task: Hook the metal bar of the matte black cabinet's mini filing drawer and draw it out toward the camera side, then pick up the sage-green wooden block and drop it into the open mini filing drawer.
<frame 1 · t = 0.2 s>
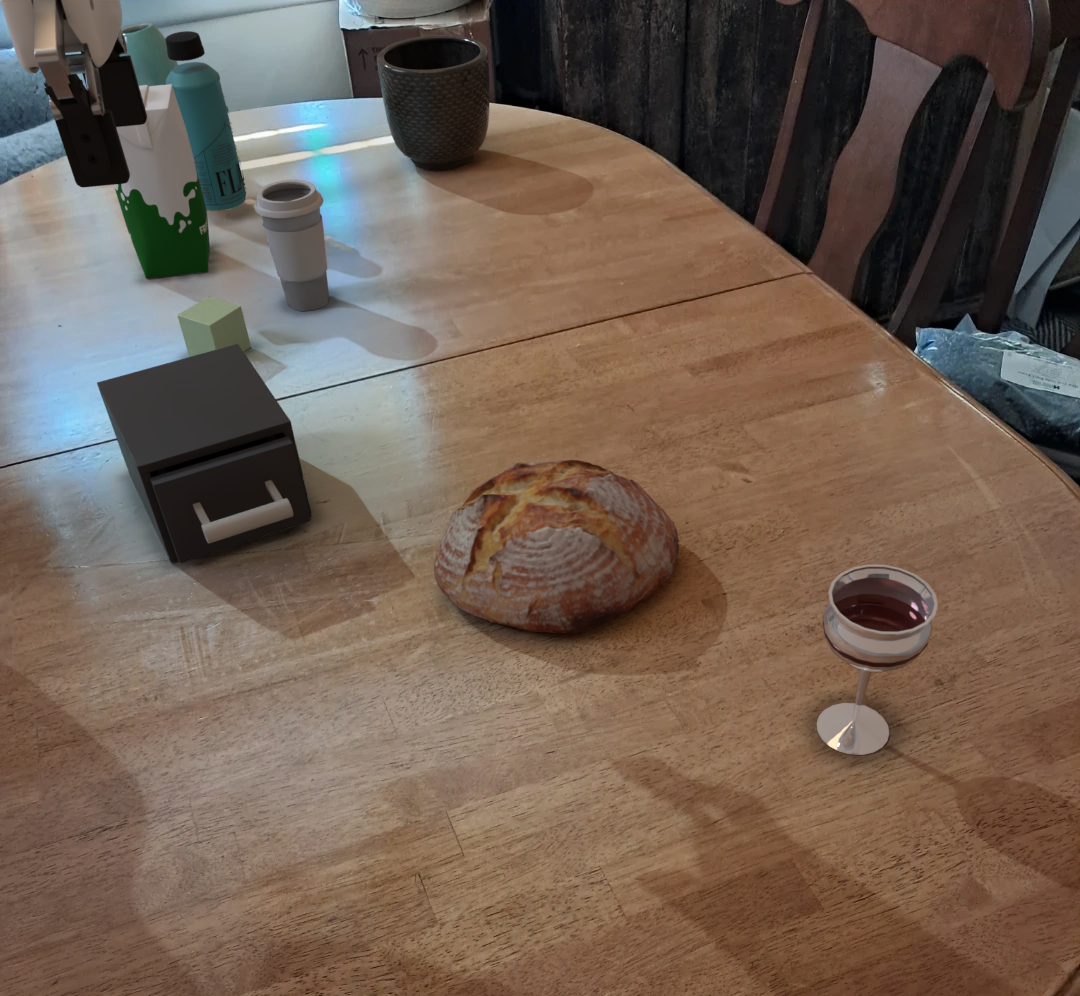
hand: (114, 152, 73), 33 cm above the table, tool pointing down, fingers open, 9 cm apart
block: (220, 351, 121), on the table
planter: (442, 161, 153), on the table
cup: (308, 302, 128), on the table
milk carton: (179, 264, 136), on the table
wineglass: (852, 730, 81), on the table
vase: (174, 178, 153), on the table
bread: (557, 575, 94), on the table
beverage bottle: (225, 213, 145), on the table
mini filing drawer: (220, 477, 97), point 5 cm above the table, slide at 0.5 cm
cabinet: (219, 496, 103), on the table
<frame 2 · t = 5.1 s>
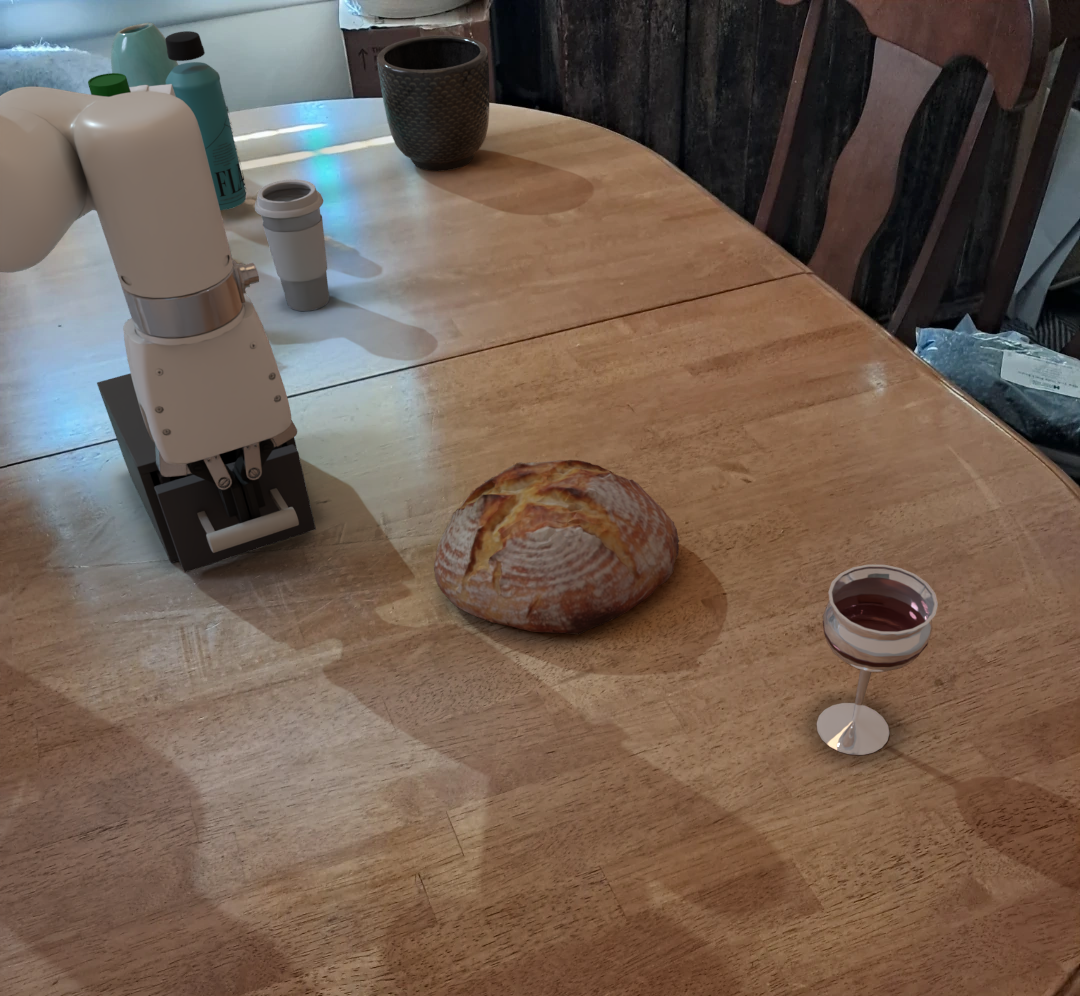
hand: (247, 517, 92), 5 cm above the table, tool pointing down, fingers closed
mini filing drawer: (225, 485, 96), point 5 cm above the table, slide at 1.8 cm
everything else where it was.
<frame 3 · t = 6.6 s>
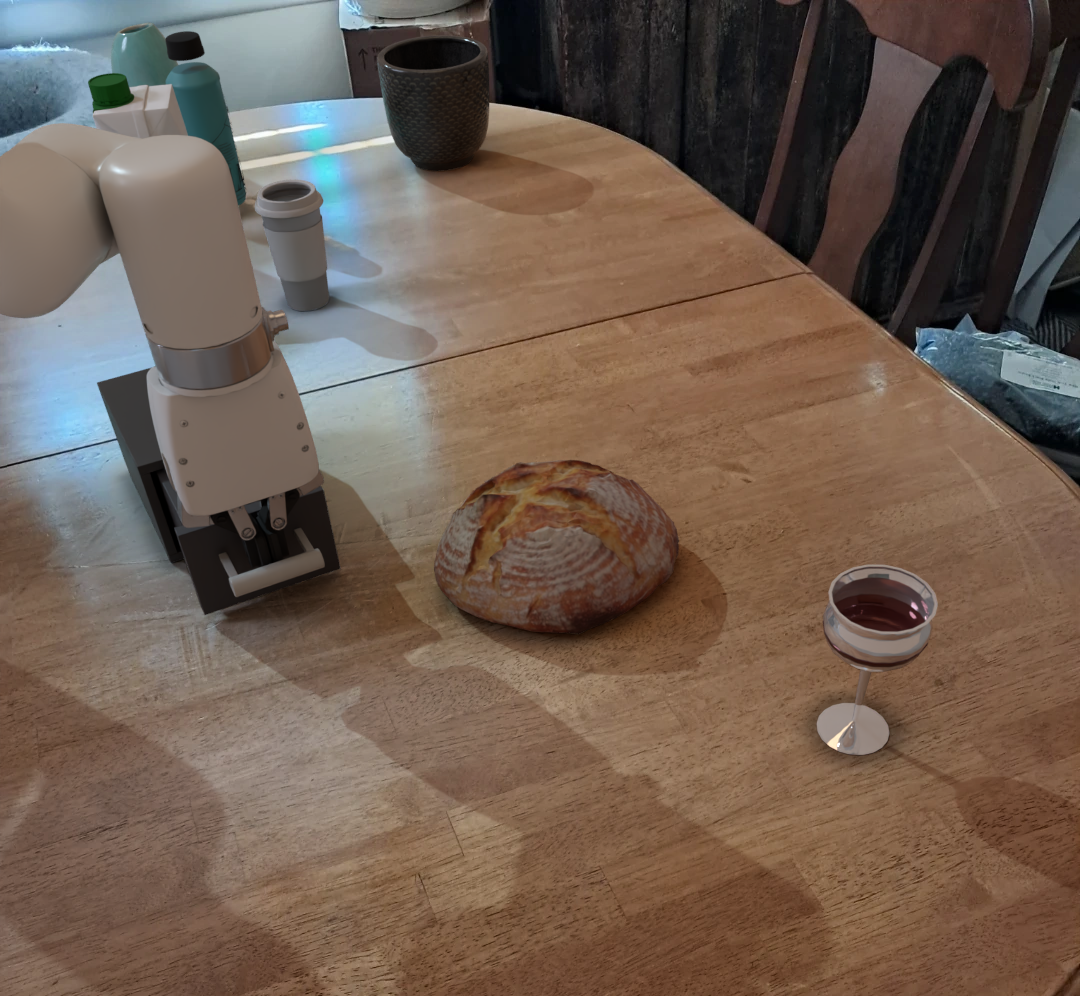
hand: (271, 566, 88), 5 cm above the table, tool pointing down, fingers closed
mini filing drawer: (246, 523, 92), point 5 cm above the table, slide at 7.8 cm, touching gripper
everything else where it was.
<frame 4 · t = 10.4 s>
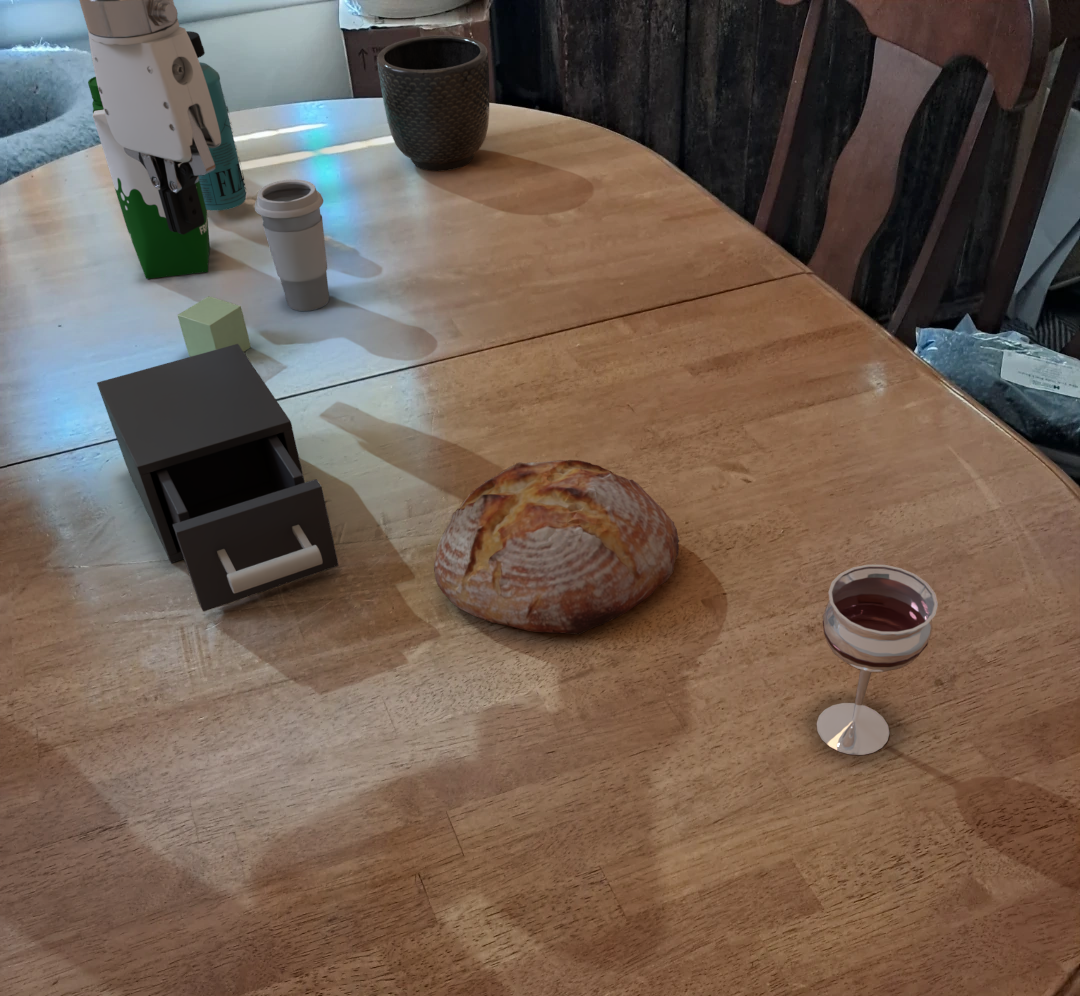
hand: (187, 227, 111), 13 cm above the table, tool pointing down, fingers closed
mini filing drawer: (245, 520, 92), point 5 cm above the table, slide at 7.4 cm
everything else where it was.
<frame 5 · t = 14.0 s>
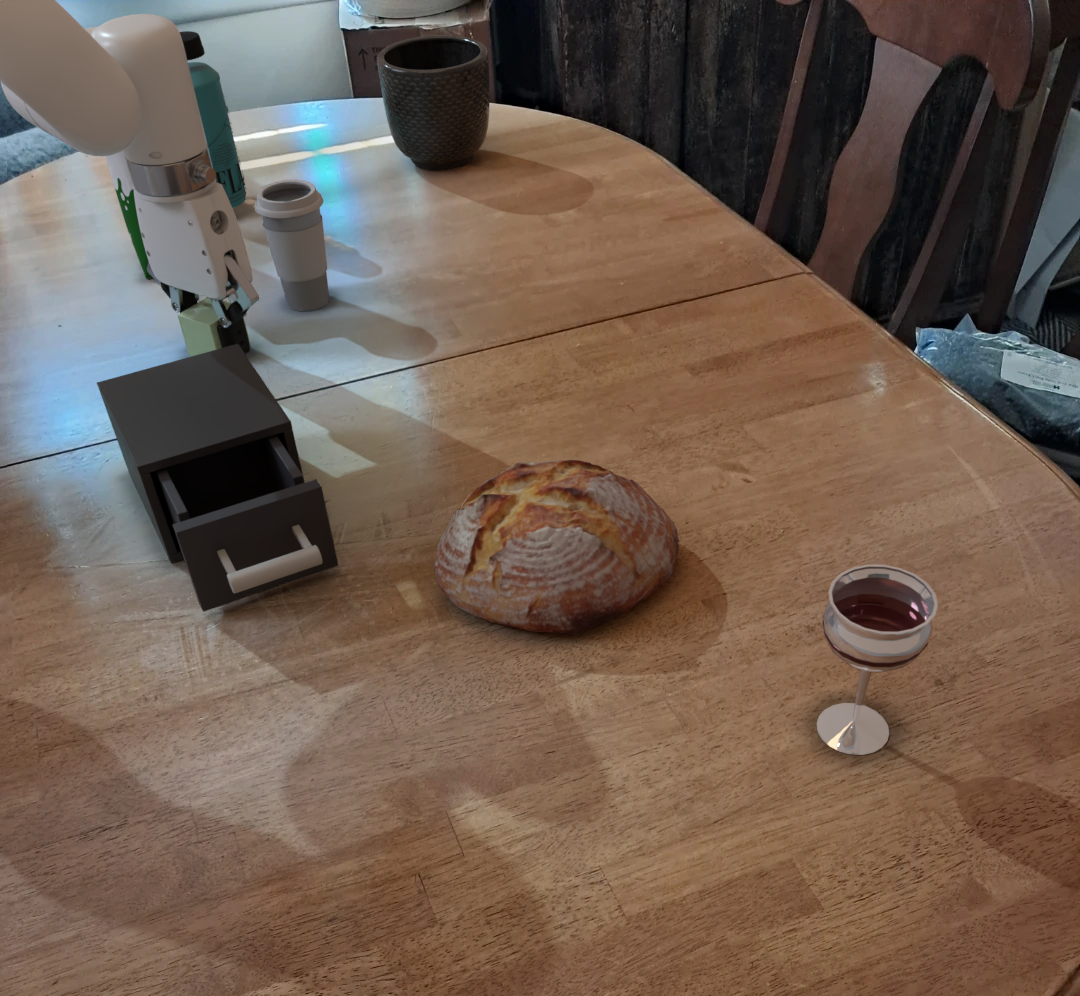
hand: (219, 348, 120), 0 cm above the table, tool pointing down, fingers closed on block, 4 cm apart
block: (220, 351, 121), on the table, touching gripper
everything else where it was.
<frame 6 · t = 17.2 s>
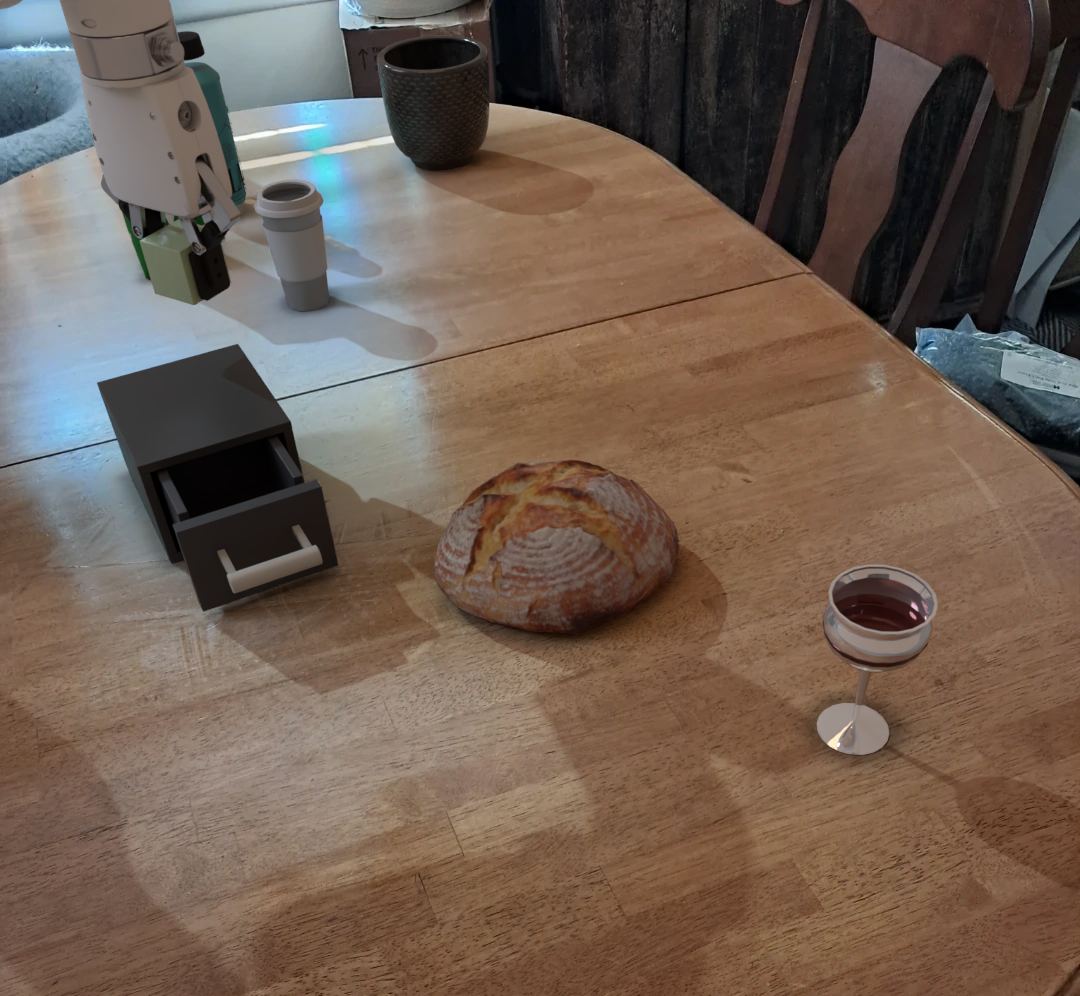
hand: (191, 284, 98), 15 cm above the table, tool pointing down, fingers closed on block, 4 cm apart
block: (193, 288, 98), point 15 cm above the table, touching gripper
everything else where it was.
when the fingers open (11 cm above the table, at t = 20.6 s): block drops 9 cm, resting on mini filing drawer.
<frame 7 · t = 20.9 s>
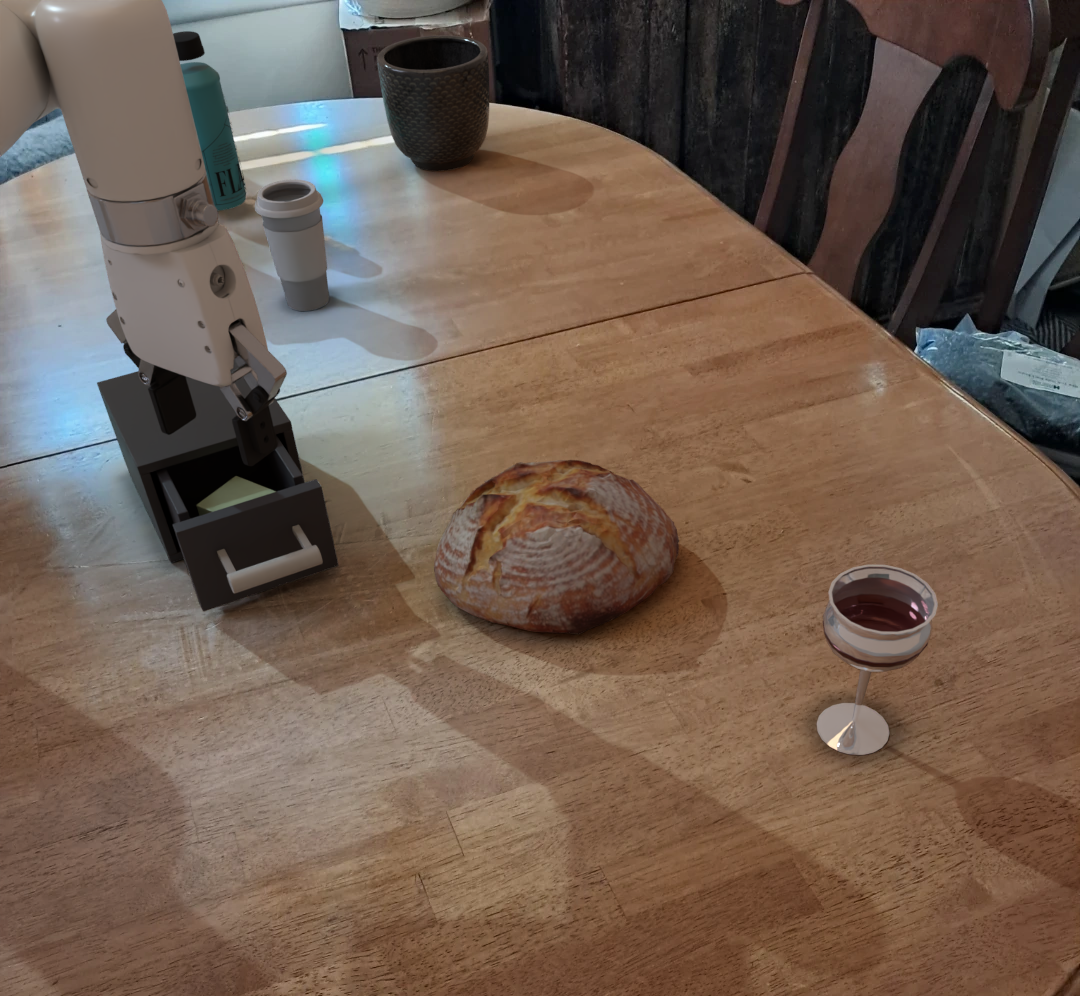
hand: (219, 439, 87), 12 cm above the table, tool pointing down, fingers open, 7 cm apart
block: (250, 544, 95), point 2 cm above the table, touching mini filing drawer
mini filing drawer: (245, 520, 92), point 5 cm above the table, slide at 7.4 cm, touching block
everything else where it was.
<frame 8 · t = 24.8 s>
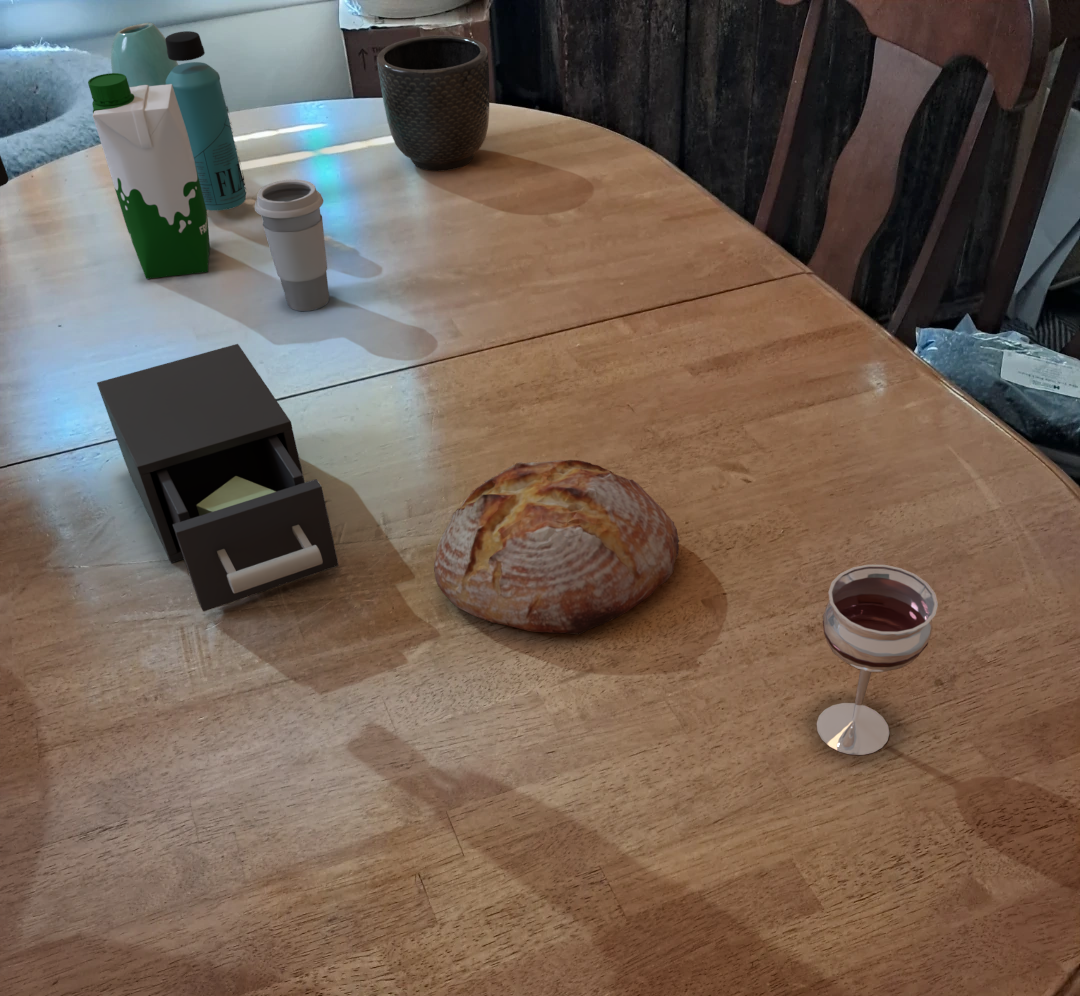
nothing on the table moved.
at the end: mini filing drawer slide at 7.4 cm; block inside the target area in the mini filing drawer (0.1 cm from its centre), point 2.0 cm above the cabinet's base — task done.
